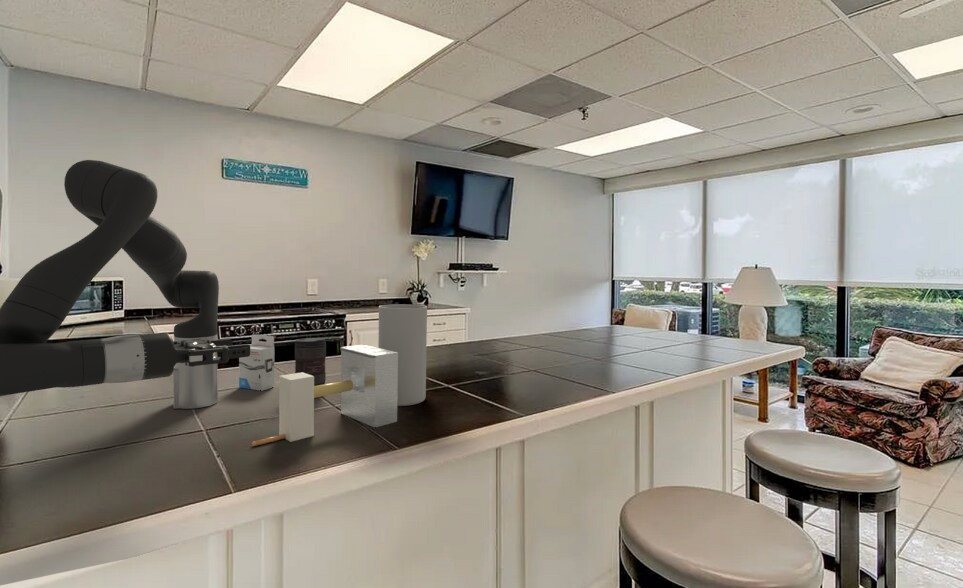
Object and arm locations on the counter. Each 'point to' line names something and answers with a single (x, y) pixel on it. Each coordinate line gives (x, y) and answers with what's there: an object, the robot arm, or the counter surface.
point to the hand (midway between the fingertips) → (240, 347)
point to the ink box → (258, 365)
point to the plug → (300, 405)
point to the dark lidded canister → (311, 358)
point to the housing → (370, 384)
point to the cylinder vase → (406, 348)
